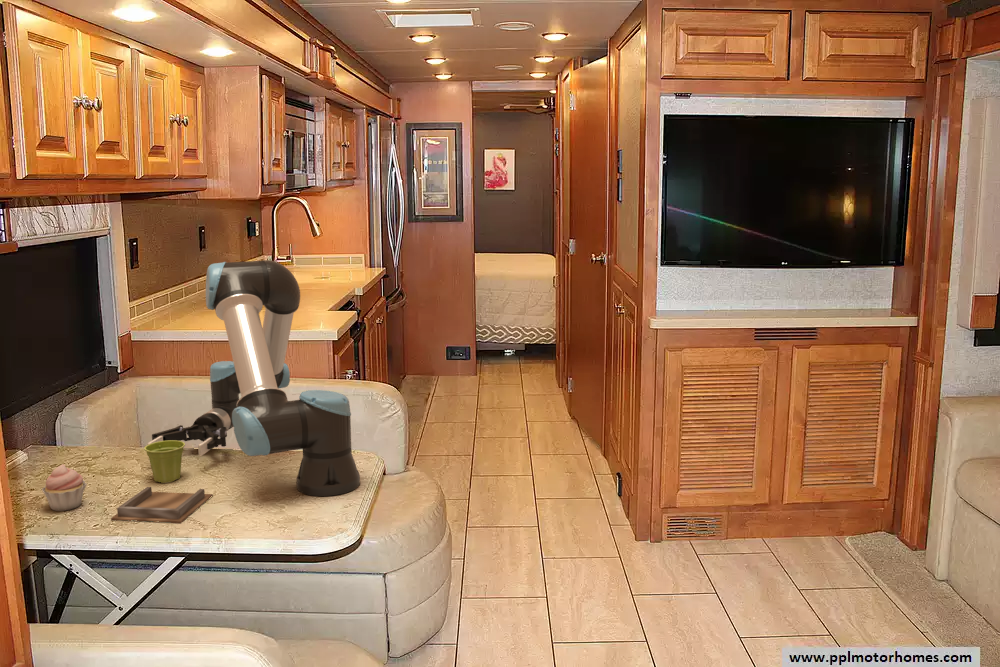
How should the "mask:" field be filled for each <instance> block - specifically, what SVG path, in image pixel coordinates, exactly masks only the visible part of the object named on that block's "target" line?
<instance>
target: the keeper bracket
mask: <svg viewBox="0 0 1000 667" xmlns="http://www.w3.org/2000/svg"><path fill="white" fill-rule="evenodd" d="M213 495H214V493H206V492H205V488H200V489H198V490H197V491H196V492H194V493H191V492H171V491H170V492H169V491H168V492H167V491H166V492H163V491H152V486H146V487H145V488H143V489H142V490H140V491H139V492H138V493H136V494H135V495H134V496H132V497H131V498H129V499H128V500H126V501H125V502H123V503H122V504H121V505H119V506H118V507H117V508H116V511H117V513H116V514H115V515H113V516H112V517H111V518H110V520H111V521H115V520H116V522H118V521H117V520H129V521H128V522H132V521H131V520H137V521H136V522H138V521H159V522H158V523H160V522H171V523H170V524H182V523H183V522H184V521H185V520H186V519H187V517H188V516H189V515H190V514H191V513H192V514H193V512H194V511H195V510H196V509H197V508H198V509H200V508H201V507H202V506H203V505H204V504H205V503H206V501H207V500H208V499H209V498H210V497H211V496H212V497H214V496H213ZM212 497H211V498H212ZM211 498H210V499H211ZM210 499H209V500H210ZM209 500H208V501H209ZM208 501H207V502H208ZM204 502H205V503H204ZM203 503H204V504H203ZM202 504H203V505H202ZM201 505H202V506H201ZM200 506H201V507H200ZM198 509H197V510H198ZM197 510H196V511H197ZM196 511H195V512H196ZM195 512H194V513H195ZM192 514H191V515H192ZM191 515H190V516H191ZM190 516H189V517H190ZM189 517H188V518H189ZM181 522H182V523H181Z"/></svg>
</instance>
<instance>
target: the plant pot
mask: <svg viewBox="0 0 1000 667" xmlns="http://www.w3.org/2000/svg"><path fill="white" fill-rule="evenodd" d="M185 447H186V443H185V441H183V440H181V441H177V440H168V441H159V442H155V443H151V444H149V445H145V446H144V447H143V448H144V451H145V452H146V456H147V457H148V459H149V462H150V463H149V464H150V467H151V471H152V477H153V481H154V482H155V483H156V482H159V483H160V482H161V483H163V484H165V483H173V482H174V481H175V480H179V479H180V478H181V474H182V461H183V460H182V458H183V452H184V448H185Z"/></svg>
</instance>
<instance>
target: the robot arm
mask: <svg viewBox="0 0 1000 667" xmlns="http://www.w3.org/2000/svg"><path fill="white" fill-rule="evenodd" d="M205 277H206V278H205V304H206V308H207V309H208V310H212V311H215V315H216V317H217V318H218V319H220V321H223V322H224V327H225V331H226V334H227V339H228V340H227V342H228V345H229V348H230V349H229V350H230V353H231V358H232V361H231V360H227V361H226V360H221V361H217V362H214V363H212V364H211V365H210V367H209V368H210V369H209V376H210V377H209V381H210V391H211V392H210V393H211V409H210V410H209V411H206V412H205V413H203V414H202V415H200V416H198V417H197V418H196V419H195V420H194V421H193V423H192V425H191V426H187V427H183V425H178V426H176V427H174V428H173V427H172V428H170V429H166V430H162V431H159V432H155V433H152V434H151V439H152V440H150V441H149V442H147V445H149V444H151V443H155V442H159V441H168V440H177V441H183V442H189V441H197V440H199V441H201V443H200V444H198V445H197V449H198V456H199V457H200V456H202V457H203V455H205V454H206V453H208V452H209V451H210V450H212V449H214V448H218V447H219V446H221V447H223V448H225V447H226V446H227V439H226V438H227V437H228V432H227V431H229V430H230V429H233V433H234V436H235V439H236V442H237V445H238V447H239V448H240V450H241V451H242V453H244V454H245V455H247V457H248V456H250V457H256V456H257V457H258V456H264V457H265V456H268V455H272V454H279V453H285V452H291V451H297V450H302V458H301V461H300V466H299V469H298V473H297V476H296V489H297V491H299V492H300V493H301V494H304V495H308V496H315V497H329V496H330V497H333V496H339V495H344V494H347V493H350V492H352V491H354V490H356V489H357V488H358V487H360V485H361V476H360V472H359V470H358V468H357V464H356V462H355V459H354V456H353V453H352V432H351V431H352V430H351V429H352V428H351V416H352V412H351V408H350V406H351V405H350V399H349V398H348V397H347V396H346V395H345V394H343V393H340V392H337V391H331V390H325V389H324V390H323V389H311V390H309V389H308V390H306V391H305V390H304V391H301V392H300V393H299V395H298V397H299V398H298V399H294V400H288V397H287V394H286V392H285V390H283V389H285V388H286V387H288V386H289V385H290V381H291V379H290V378H291V373H290V368H289V366H288V364H287V363H285V361H286V355H287V350H288V345H289V339H290V336H291V334H290V333H291V330H292V329H291V328H292V324H293V318H294V313H296V312H297V311H298V309H299V308H300V302H301V290H300V286H299V283H298V281H297V279H296V276H294V274H293V272H292V271H290V269H288V268H287V267H286V266H284V265H283V264H281V263H279V262H277V261H274V260H268V259H264V260H251V261H232V262H231V261H229V262H227V261H223V262H218V263H217V262H216V263H215V262H214V263H211V264H210V265H209V266H208V267H207V270H206V276H205ZM263 307H264V308H265V310H264V316H263V322H261V317H260V313H261V311H262V309H263ZM147 445H146V446H147Z"/></svg>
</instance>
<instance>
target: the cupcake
mask: <svg viewBox="0 0 1000 667" xmlns="http://www.w3.org/2000/svg"><path fill="white" fill-rule="evenodd" d="M87 485H88V483H86V480H84V476H82V474H80V473H78V471H76V470H75V469H72V468H68V467H66V465H65V464H64V463H63V464H61V465H59V466H57V467H55V468H54V469H53V470H52V471H51V474H50V475H49V476H48V477H47V478H46V481H45V486H44V487H42V488H41V491H42V493H43V494H44V496H45V498H46V500H47V503H48V505H49V508H50V509H51V510H52V511H55V512H56V511H57V512H63V511H69V510H73V509H76V508H78V507H80V505H81V504H82V500H83V495H84V491H85V489H86V487H87Z"/></svg>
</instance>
